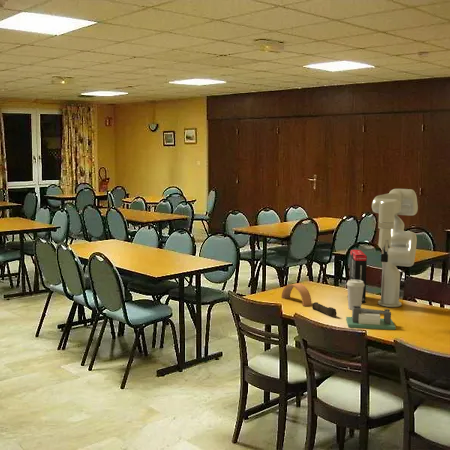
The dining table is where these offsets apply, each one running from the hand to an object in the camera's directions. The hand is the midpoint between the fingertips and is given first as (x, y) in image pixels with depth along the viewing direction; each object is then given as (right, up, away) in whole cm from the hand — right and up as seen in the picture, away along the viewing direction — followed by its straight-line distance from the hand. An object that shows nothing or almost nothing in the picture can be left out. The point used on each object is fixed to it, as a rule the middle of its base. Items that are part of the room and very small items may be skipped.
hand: (384, 261), depth 304 cm
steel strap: (-8, -24, -9) cm, 27 cm away
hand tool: (-27, -28, +11) cm, 41 cm away
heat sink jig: (-9, -30, -8) cm, 32 cm away
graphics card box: (-5, -24, +40) cm, 47 cm away
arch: (-40, -25, +34) cm, 58 cm away
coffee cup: (-10, -27, +21) cm, 35 cm away
